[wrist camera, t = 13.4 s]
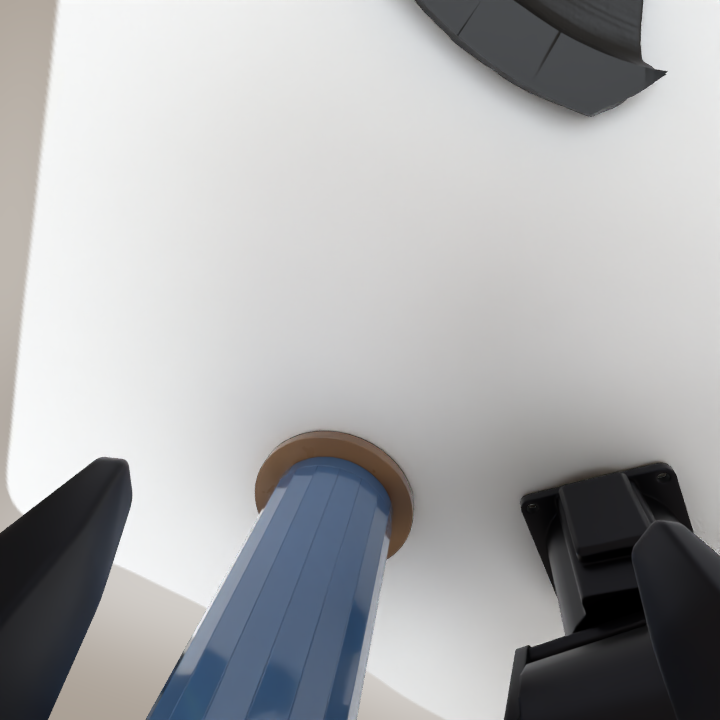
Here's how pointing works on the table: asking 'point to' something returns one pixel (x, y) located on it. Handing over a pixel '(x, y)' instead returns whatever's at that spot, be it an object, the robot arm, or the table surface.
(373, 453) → the coaster
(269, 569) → the pen cup
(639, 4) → the dark sector wedge
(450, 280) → the table surface
